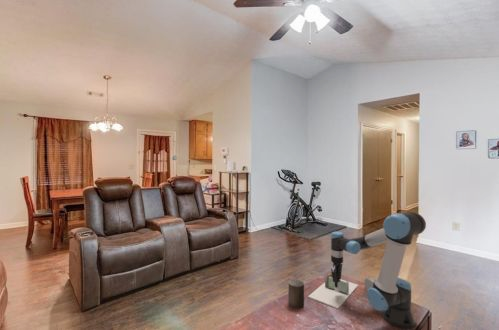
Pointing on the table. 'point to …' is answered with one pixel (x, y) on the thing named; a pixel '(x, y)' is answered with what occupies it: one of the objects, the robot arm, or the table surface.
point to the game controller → (368, 283)
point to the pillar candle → (296, 294)
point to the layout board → (332, 295)
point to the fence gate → (340, 285)
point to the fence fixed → (327, 279)
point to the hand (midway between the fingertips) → (336, 291)
